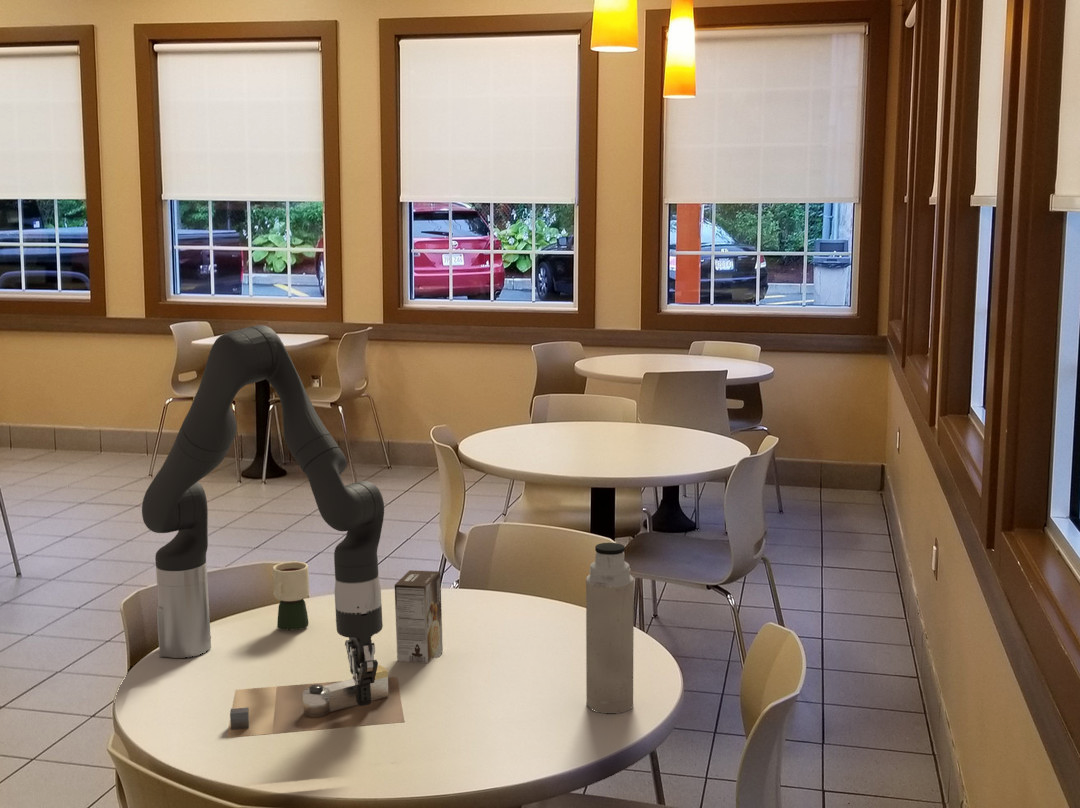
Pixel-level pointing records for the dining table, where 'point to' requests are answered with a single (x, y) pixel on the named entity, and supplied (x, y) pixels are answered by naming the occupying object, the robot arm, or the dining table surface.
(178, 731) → the dining table surface
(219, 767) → the dining table surface
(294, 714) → the door board
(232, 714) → the block
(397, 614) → the coffee box
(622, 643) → the thermos bottle
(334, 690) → the latch bar
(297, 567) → the character mug
